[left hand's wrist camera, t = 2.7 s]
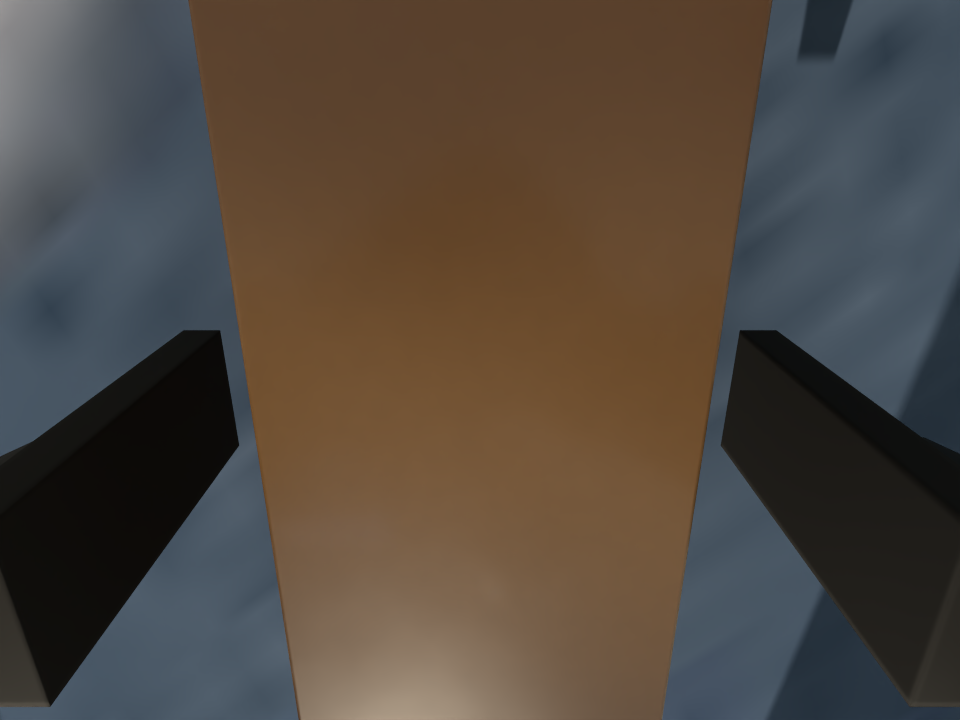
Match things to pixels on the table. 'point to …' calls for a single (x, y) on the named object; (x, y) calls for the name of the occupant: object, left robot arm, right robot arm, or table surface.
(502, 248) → the bar
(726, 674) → the table surface
